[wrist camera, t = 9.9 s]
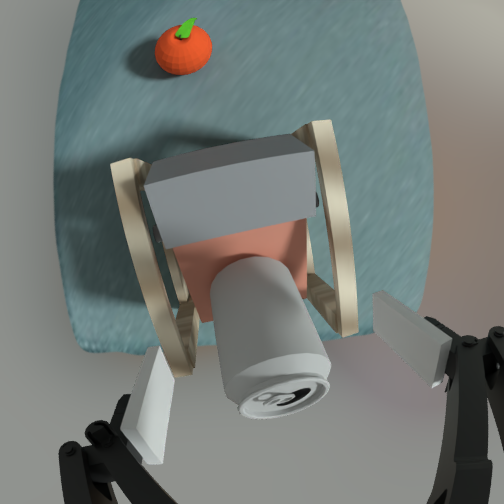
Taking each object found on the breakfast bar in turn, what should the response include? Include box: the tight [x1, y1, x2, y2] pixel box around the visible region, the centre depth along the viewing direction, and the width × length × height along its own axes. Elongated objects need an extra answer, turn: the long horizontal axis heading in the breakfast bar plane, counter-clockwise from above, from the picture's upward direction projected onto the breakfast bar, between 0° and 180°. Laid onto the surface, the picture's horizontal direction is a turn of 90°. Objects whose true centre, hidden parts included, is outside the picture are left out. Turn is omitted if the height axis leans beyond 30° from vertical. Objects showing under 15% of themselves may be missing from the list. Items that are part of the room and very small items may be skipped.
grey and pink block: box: [144, 134, 319, 323], centre depth 23 cm, size 16×13×5 cm
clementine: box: [155, 18, 212, 75], centre depth 26 cm, size 8×7×7 cm
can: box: [210, 256, 331, 419], centre depth 21 cm, size 8×8×12 cm
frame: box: [110, 120, 358, 377], centre depth 28 cm, size 18×17×15 cm
